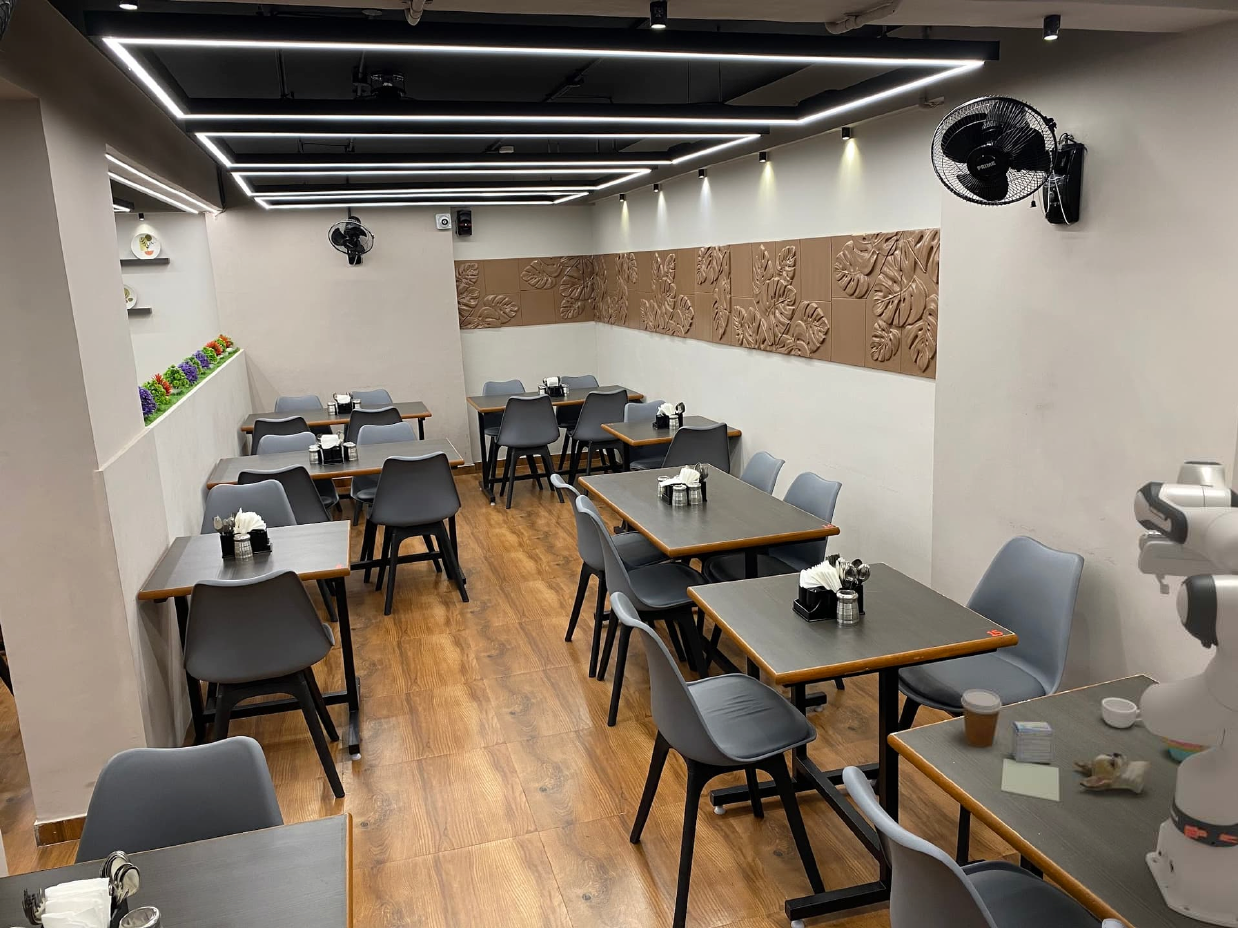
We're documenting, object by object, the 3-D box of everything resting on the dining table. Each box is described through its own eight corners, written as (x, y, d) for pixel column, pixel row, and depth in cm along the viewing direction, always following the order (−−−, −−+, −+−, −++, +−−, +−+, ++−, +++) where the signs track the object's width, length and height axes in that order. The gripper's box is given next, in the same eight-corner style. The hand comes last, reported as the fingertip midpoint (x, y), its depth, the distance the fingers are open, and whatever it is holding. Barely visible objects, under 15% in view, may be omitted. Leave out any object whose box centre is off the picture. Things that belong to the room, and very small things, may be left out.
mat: (1059, 801, 200) (1059, 800, 200) (1000, 790, 206) (1001, 789, 205) (1058, 769, 213) (1058, 767, 213) (1003, 759, 218) (1003, 758, 218)
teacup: (1102, 729, 229) (1104, 709, 228) (1098, 714, 236) (1099, 695, 235) (1147, 734, 226) (1149, 714, 224) (1141, 719, 233) (1143, 700, 231)
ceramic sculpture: (1155, 768, 196) (1078, 762, 202) (1154, 804, 198) (1079, 796, 203) (1146, 744, 206) (1073, 738, 211) (1145, 778, 208) (1073, 771, 213)
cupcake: (1177, 743, 221) (1181, 699, 218) (1212, 760, 213) (1217, 714, 211) (1154, 753, 217) (1158, 708, 215) (1188, 770, 210) (1193, 723, 207)
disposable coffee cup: (983, 754, 220) (985, 710, 217) (951, 738, 228) (952, 695, 225) (1008, 743, 225) (1010, 699, 222) (976, 727, 233) (978, 684, 230)
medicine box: (1044, 754, 219) (1046, 721, 217) (1051, 763, 215) (1053, 730, 213) (1011, 753, 220) (1012, 720, 218) (1017, 762, 215) (1019, 729, 214)
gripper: (1142, 535, 192) (1137, 596, 195) (1255, 541, 185) (1248, 604, 188) (1137, 526, 198) (1132, 585, 201) (1247, 532, 191) (1239, 593, 194)
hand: (1189, 595), depth 194 cm, fingers open, 8 cm apart
